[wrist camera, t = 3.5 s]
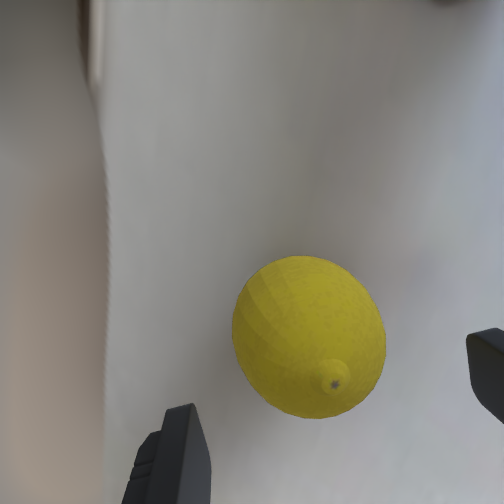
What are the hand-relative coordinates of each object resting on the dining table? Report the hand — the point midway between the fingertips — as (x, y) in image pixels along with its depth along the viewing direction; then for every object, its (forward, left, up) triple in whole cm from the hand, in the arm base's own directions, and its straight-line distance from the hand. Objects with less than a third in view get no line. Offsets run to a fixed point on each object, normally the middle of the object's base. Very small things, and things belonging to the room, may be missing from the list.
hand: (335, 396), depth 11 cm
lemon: (0, 0, -8) cm, 8 cm away
